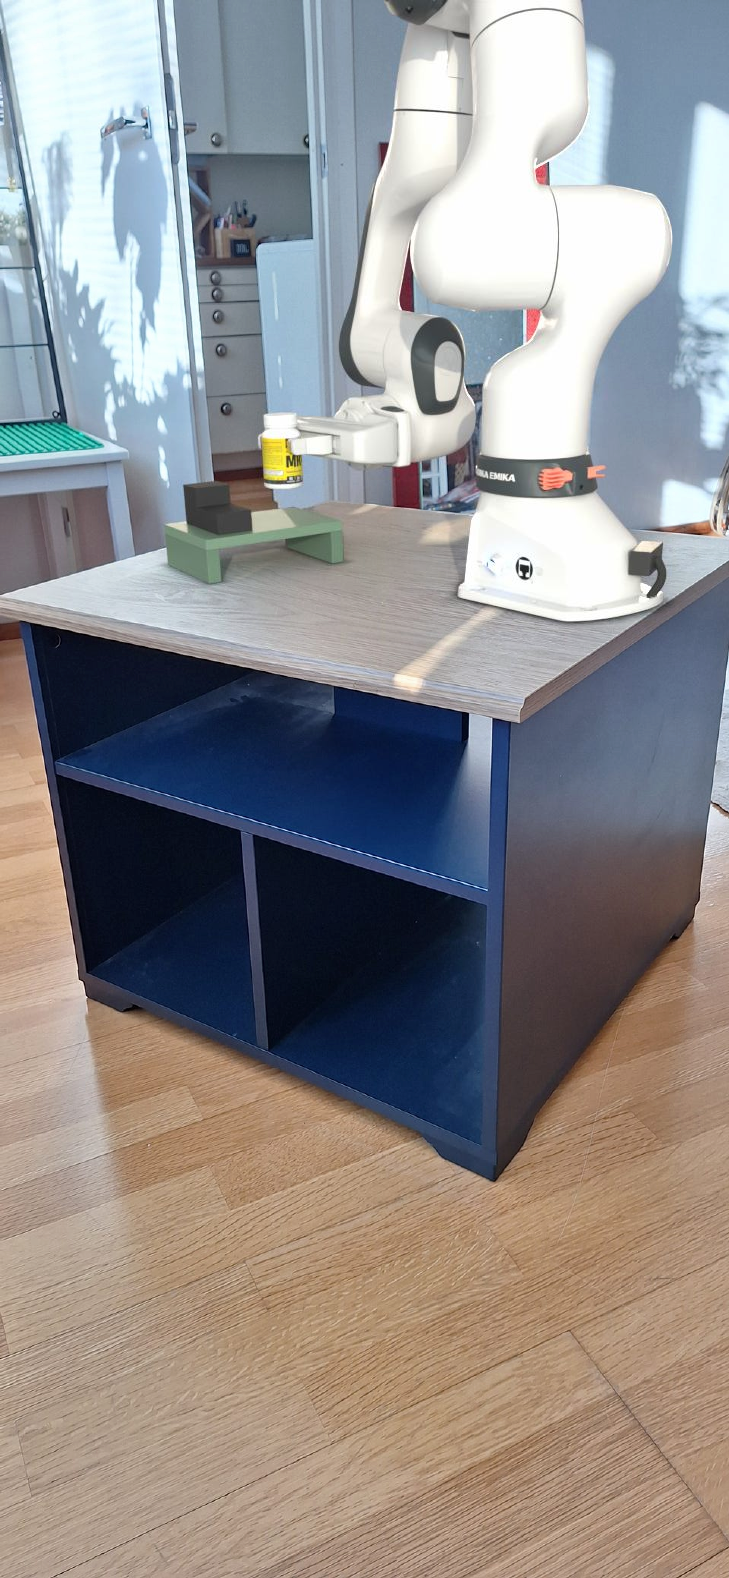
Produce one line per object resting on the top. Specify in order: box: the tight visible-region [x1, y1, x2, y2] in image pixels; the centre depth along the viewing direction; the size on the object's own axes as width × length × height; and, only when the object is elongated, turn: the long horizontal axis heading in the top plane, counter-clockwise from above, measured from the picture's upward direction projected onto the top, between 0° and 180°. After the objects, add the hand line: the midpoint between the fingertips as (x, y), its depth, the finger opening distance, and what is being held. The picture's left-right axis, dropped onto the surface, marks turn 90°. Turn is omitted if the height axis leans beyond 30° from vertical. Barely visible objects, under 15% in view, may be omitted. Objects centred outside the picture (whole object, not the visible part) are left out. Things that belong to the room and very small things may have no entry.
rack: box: [163, 506, 344, 585], centre depth 135 cm, size 12×18×5 cm, turn 122°
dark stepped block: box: [182, 480, 252, 535], centre depth 131 cm, size 9×4×5 cm, turn 32°
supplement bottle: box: [261, 412, 304, 490], centre depth 133 cm, size 5×5×8 cm
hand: (275, 444), depth 133 cm, fingers closed on supplement bottle, 5 cm apart
